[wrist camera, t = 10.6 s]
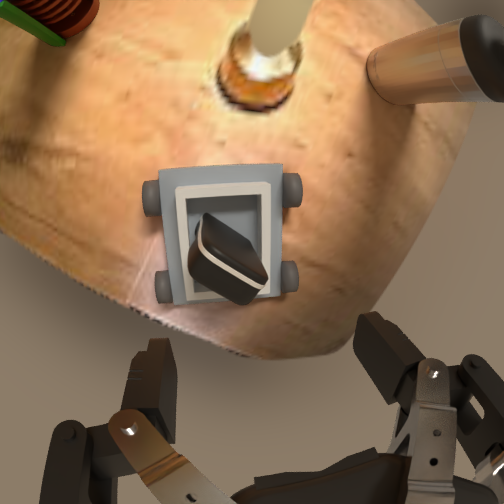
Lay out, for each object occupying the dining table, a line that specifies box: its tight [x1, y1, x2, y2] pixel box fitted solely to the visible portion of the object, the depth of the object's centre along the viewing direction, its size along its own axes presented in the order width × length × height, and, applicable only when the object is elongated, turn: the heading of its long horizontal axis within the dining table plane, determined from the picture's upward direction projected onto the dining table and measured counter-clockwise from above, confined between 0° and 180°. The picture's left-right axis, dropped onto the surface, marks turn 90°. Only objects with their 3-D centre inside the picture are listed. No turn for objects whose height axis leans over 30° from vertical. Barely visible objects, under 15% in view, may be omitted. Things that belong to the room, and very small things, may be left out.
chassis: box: [142, 163, 303, 305], centre depth 33 cm, size 17×17×4 cm
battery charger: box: [187, 213, 268, 305], centre depth 28 cm, size 7×4×11 cm, turn 53°
